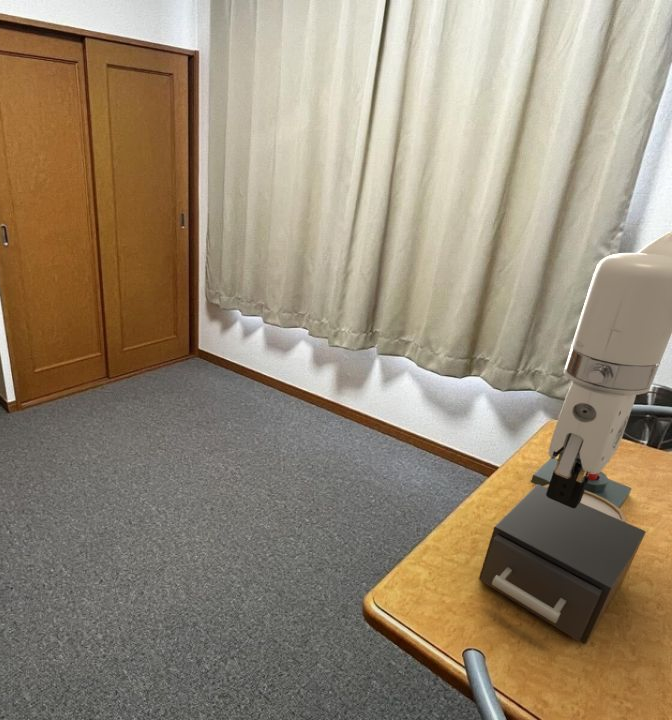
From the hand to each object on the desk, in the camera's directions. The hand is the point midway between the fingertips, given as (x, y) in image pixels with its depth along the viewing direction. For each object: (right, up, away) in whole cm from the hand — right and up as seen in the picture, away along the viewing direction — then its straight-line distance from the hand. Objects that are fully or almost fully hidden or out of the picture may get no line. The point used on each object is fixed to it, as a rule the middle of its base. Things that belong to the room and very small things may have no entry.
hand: (562, 499), depth 60 cm
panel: (+23, -6, +25) cm, 34 cm away
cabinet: (+4, -14, +7) cm, 16 cm away
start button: (+23, -3, +24) cm, 33 cm away
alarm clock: (+15, -9, +16) cm, 24 cm away
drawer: (+1, -14, +5) cm, 15 cm away
